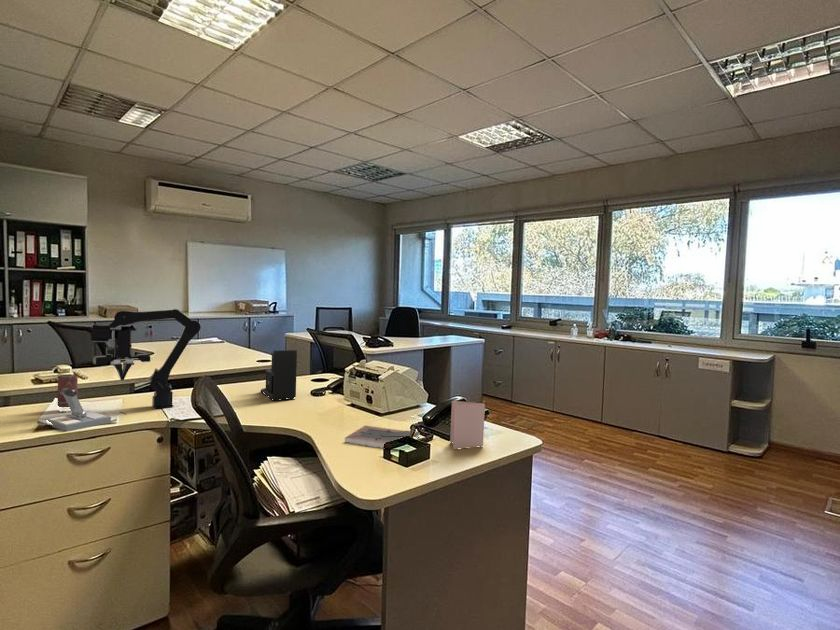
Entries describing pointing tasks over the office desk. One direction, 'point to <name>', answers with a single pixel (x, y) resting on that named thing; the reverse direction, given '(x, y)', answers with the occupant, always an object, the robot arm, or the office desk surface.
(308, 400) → the office desk surface
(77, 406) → the toggle lever
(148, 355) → the robot arm
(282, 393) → the bookend
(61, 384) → the can
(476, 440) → the greeting card
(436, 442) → the office desk surface
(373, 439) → the pale purple book
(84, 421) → the switch base
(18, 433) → the office desk surface
